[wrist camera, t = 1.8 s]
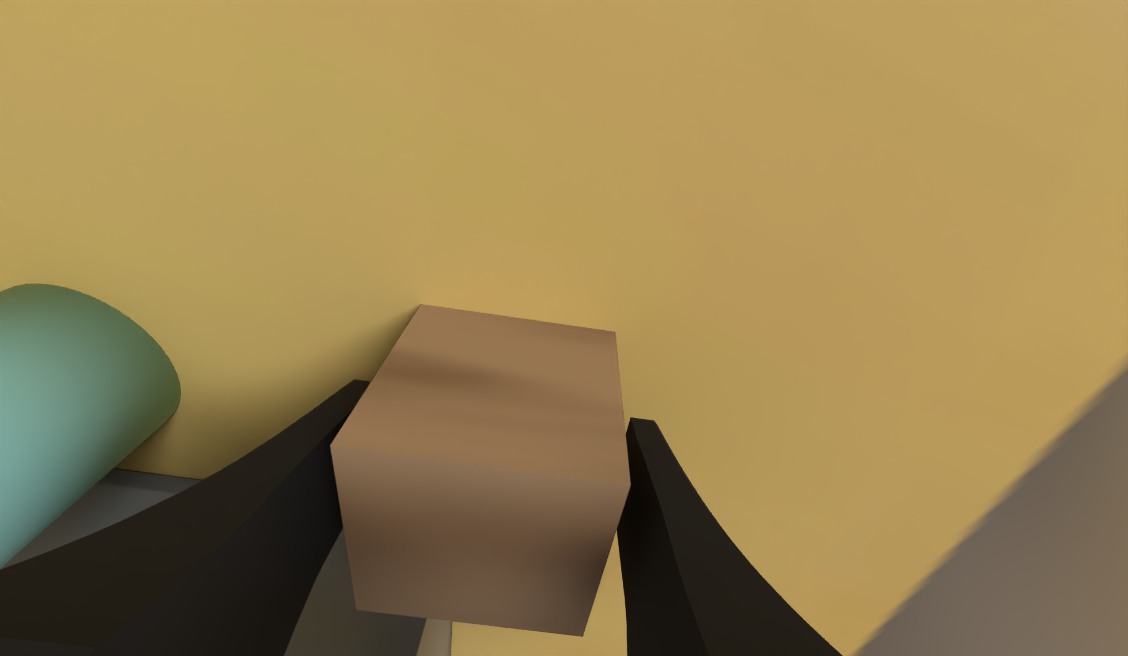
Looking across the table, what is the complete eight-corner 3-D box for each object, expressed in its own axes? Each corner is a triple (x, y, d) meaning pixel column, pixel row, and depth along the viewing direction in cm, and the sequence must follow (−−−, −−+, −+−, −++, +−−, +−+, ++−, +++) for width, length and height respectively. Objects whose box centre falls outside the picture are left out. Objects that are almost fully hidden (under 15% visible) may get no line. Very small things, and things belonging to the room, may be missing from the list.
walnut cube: (583, 465, 15) (582, 636, 10) (424, 443, 15) (356, 610, 10) (615, 330, 12) (630, 484, 8) (422, 302, 12) (330, 445, 8)
